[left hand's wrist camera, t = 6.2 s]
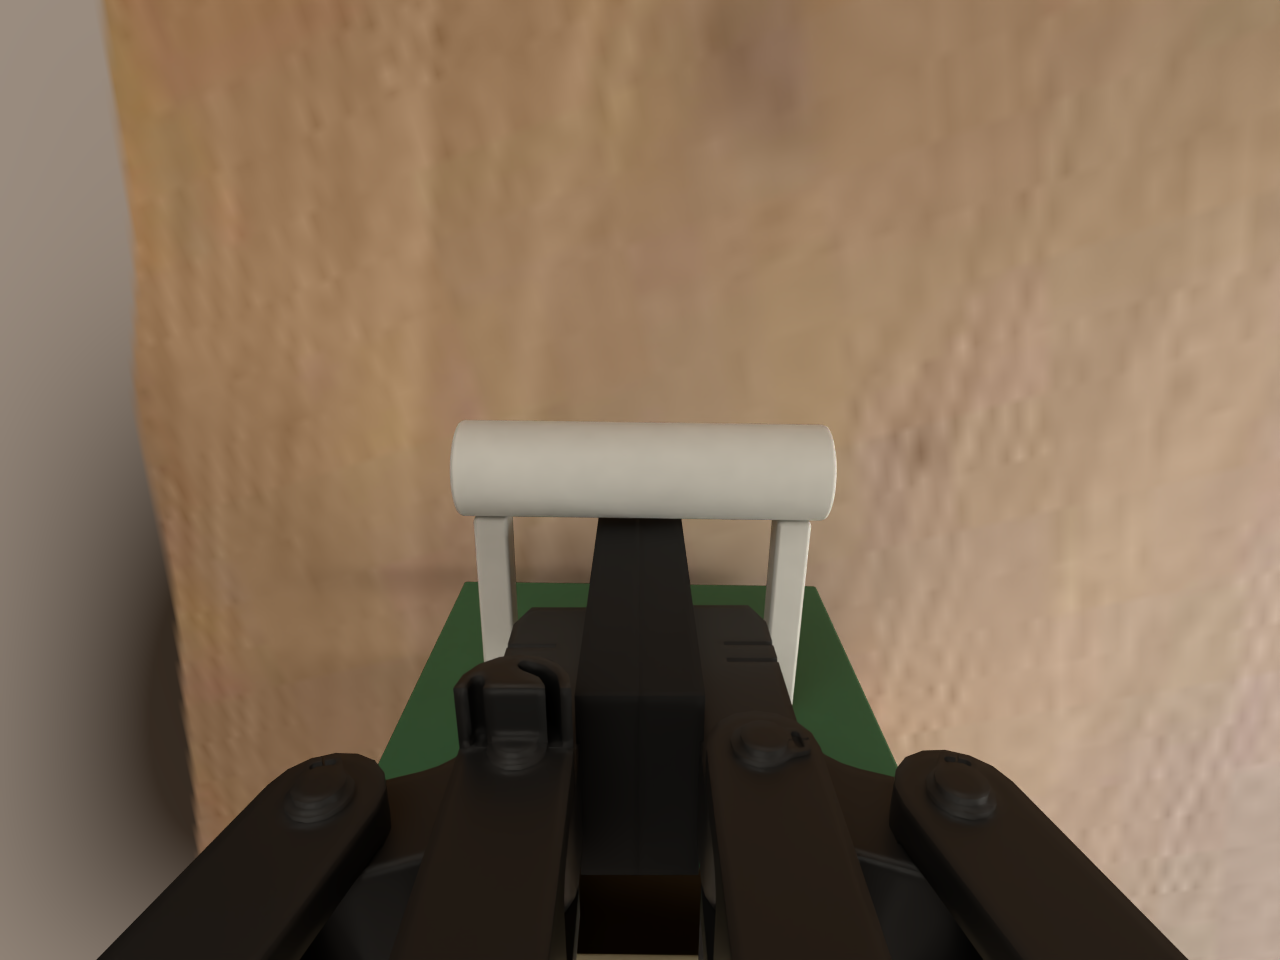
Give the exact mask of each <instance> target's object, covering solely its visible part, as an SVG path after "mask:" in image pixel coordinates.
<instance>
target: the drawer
mask: <svg viewBox="0 0 1280 960" xmlns="http://www.w3.org/2000/svg"><path fill="white" fill-rule="evenodd" d="M836 474H837V465H836V452H835V445H834V441H833V437H832V434H831V432H830V430H829V428H828V427H827V426H825V425H815V424H740V423H665V422H590V421H515V420H463V421H461V422H460V423H459V424H458V425H457V428H456V430H455V433H454V437H453V441H452V447H451V456H450V483H451V491H452V497H453V501H454V505H455V507H456V510H457V511H458V513H459V514H461V515H463V516H476V517H475V519H474V533H475V547H476V560H477V574H478V582H465V583H464V585H463V588H462V590H461V592H460V594H459V596H458V598H457V600H456V602H455V604H454V606H453V609H452V611H451V613H450V615H449V617H448V619H447V621H446V623H445V625H444V627H443V629H442V632H441V634H440V636H439V638H438V640H437V642H436V644H435V646H434V648H433V650H432V653H431V655H430V657H429V659H428V661H427V663H426V665H425V667H424V669H423V671H422V673H421V676H420V678H419V680H418V682H417V684H416V686H415V688H414V690H413V692H412V694H411V696H410V699H409V701H408V703H407V705H406V707H405V709H404V711H403V713H402V715H401V717H400V720H399V722H398V724H397V726H396V728H395V730H394V732H393V734H392V736H391V738H390V740H389V743H388V745H387V747H386V749H385V751H384V753H383V755H382V757H381V759H380V761H379V763H378V765H379V766H380V768H381V769H382V770H383V771H384V773H385V779H386V780H387V779H391V778H396V777H400V776H404V775H408V774H412V773H417V772H421V771H424V770H427V769H430V768H433V767H436V766H439V765H441V764H443V763H445V762H447V761H449V760H451V759H453V758H455V757H456V756H457V754H458V751H459V740H458V730H457V721H456V711H455V702H454V692H453V688H454V686H455V685H456V683H457V682H458V681H459V679H460V678H461V676H462V675H463V674H465V673H466V672H468V671H469V670H471V669H472V668H474V667H475V666H477V665H478V664H480V663H483V662H486V661H489V660H492V659H495V658H498V657H503V656H504V654H505V651H506V648H508V641H509V638H510V635H511V631H512V628H513V625H514V623H516V622H517V621H518V620H519V619H520V618H521V617H522V616H523V615H524V614H525V613H526V612H527V611H528V610H529V609H530V608H531V607H587V600H588V593H589V585H590V583H518V582H516V572H515V553H514V534H513V516H518V517H593V518H669V519H745V520H772V526H771V538H770V550H769V562H768V574H767V586H747V585H690V587H691V594H692V602H693V605H749V606H750V607H751V608H752V609H753V610H754V611H755V612H756V613H757V614H758V615H759V616H760V617H762V618H763V619H764V620H765V621H766V623H767V626H768V629H769V633H770V636H771V639H772V645H774V649H775V652H776V655H777V662H779V665H780V668H781V671H782V674H783V678H784V681H785V684H786V687H787V690H788V694H789V697H790V700H791V703H792V707H793V710H794V713H795V716H796V719H797V722H798V723H799V724H801V725H802V726H803V727H805V728H806V729H807V730H809V731H810V732H811V733H812V734H813V736H814V737H815V739H816V741H817V742H818V744H819V745H820V747H821V750H822V753H824V754H825V755H827V756H829V757H831V758H833V759H835V760H837V761H839V762H841V763H843V764H846V765H850V766H853V767H856V768H859V769H863V770H867V771H872V772H876V773H880V774H884V775H888V776H893V777H895V771H896V768H897V767H898V766H897V764H896V762H895V760H894V758H893V755H892V753H891V751H890V749H889V747H888V744H887V742H886V740H885V738H884V736H883V734H882V731H881V729H880V727H879V725H878V723H877V720H876V718H875V716H874V714H873V712H872V709H871V707H870V705H869V703H868V701H867V699H866V696H865V694H864V692H863V690H862V688H861V685H860V683H859V681H858V679H857V677H856V675H855V672H854V670H853V668H852V666H851V664H850V661H849V659H848V657H847V655H846V653H845V650H844V648H843V646H842V644H841V642H840V640H839V637H838V635H837V633H836V631H835V629H834V626H833V624H832V622H831V620H830V618H829V616H828V613H827V611H826V609H825V607H824V605H823V602H822V600H821V598H820V596H819V594H818V591H817V589H816V587H814V586H805V578H806V569H807V559H808V550H809V540H810V530H811V524H810V522H809V520H824V519H826V518H827V516H828V515H829V513H830V511H831V508H832V504H833V501H834V496H835V489H836ZM579 902H580V921H579V933H578V946H577V954H638V955H698V953H699V927H700V902H701V875H700V864H699V875H581V866H580V876H579Z"/></svg>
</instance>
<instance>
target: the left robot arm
mask: <svg viewBox="0 0 1280 960" xmlns="http://www.w3.org/2000/svg"><path fill="white" fill-rule="evenodd" d="M453 692H454V702H455V711H456V721H457V730H458V740H459V751H458V754H457V756H456V757H455V758H453V759H451V760H449V761H447V762H445V763H443V764H441V765H439V766H436V767H433V768H430V769H427V770H424V771H421V772H417V773H412V774H408V775H404V776H400V777H396V778H391V779H387V780H386V779H385V773H384V771H383V770H382V769H381V768H380V766H379V765H378V764H377V763H376V761H375V760H372V759H370V758H367V757H365V756H362V755H360V754H350V753H334V754H329V755H325V756H320V757H316V758H311V759H309V760H307V761H305V762H303V763H300V764H298V765H296V766H294V767H292V768H290V769H288V770H286V771H285V772H284V773H282V774H281V775H280V776H279V777H277V778H276V779H275V780H273V781H272V782H271V783H270V784H268V785H267V786H266V787H265V788H264V789H263V790H262V791H261V792H260V793H259V794H258V795H257V796H256V797H255V798H254V800H253V801H252V802H251V803H250V804H249V805H248V806H247V807H246V808H245V809H244V810H243V811H242V812H241V813H240V814H239V815H238V816H237V817H236V818H235V819H234V820H233V821H232V822H231V823H230V824H229V825H228V826H227V827H226V828H225V829H224V830H223V831H222V832H221V833H220V834H219V835H218V836H217V837H216V838H215V839H214V840H213V841H212V842H211V843H210V844H209V845H208V846H207V847H206V848H205V850H204V851H203V852H202V853H201V854H200V855H199V856H198V857H197V858H196V859H195V860H194V861H193V862H192V863H191V864H190V865H189V866H188V867H187V868H186V869H185V870H184V871H183V872H182V873H181V874H180V875H179V876H178V877H177V878H176V879H175V880H174V881H173V882H172V883H171V884H170V885H169V886H168V887H167V888H166V889H165V890H164V891H163V892H162V893H161V894H160V896H158V898H157V899H156V900H155V901H154V902H153V903H152V904H151V905H150V906H149V907H148V908H147V909H146V910H145V911H144V912H143V913H142V914H141V915H140V916H139V917H138V918H137V919H136V920H135V921H134V922H133V923H132V924H131V925H130V926H129V927H128V928H127V929H126V930H125V931H124V932H123V933H122V934H121V935H120V936H119V937H118V938H117V939H116V940H115V941H114V942H113V943H112V944H111V945H110V947H108V949H107V950H106V951H105V952H104V953H103V954H102V955H101V956H100V957H99V958H98V959H97V960H576V958H577V946H578V933H579V921H580V902H579V876H580V866H581V875H699V864H700V875H701V902H700V927H699V953H698V960H1188V959H1187V958H1186V957H1185V956H1184V955H1183V954H1182V953H1181V952H1180V951H1179V950H1178V949H1177V948H1176V947H1175V946H1174V945H1173V944H1172V943H1171V942H1170V941H1169V940H1168V939H1167V938H1166V937H1165V936H1164V935H1163V934H1162V933H1161V931H1160V930H1159V929H1158V928H1157V927H1156V926H1155V925H1154V924H1153V923H1152V922H1151V921H1150V920H1149V919H1148V918H1147V917H1146V916H1145V915H1144V914H1143V913H1142V912H1141V911H1140V910H1139V909H1138V908H1137V907H1136V906H1135V905H1134V904H1133V903H1132V902H1131V901H1130V900H1129V899H1128V898H1127V897H1126V896H1125V895H1124V894H1123V893H1122V892H1121V891H1120V890H1119V889H1118V888H1117V887H1116V886H1115V885H1114V884H1113V883H1112V882H1111V881H1110V880H1109V879H1108V878H1107V877H1106V876H1105V875H1104V874H1103V873H1102V872H1101V871H1100V870H1099V869H1098V868H1097V867H1096V866H1095V865H1094V864H1093V863H1092V862H1091V861H1090V860H1089V859H1088V858H1087V856H1086V855H1085V854H1084V853H1083V852H1082V851H1081V850H1080V849H1079V848H1078V847H1077V846H1076V845H1075V844H1074V843H1073V842H1072V841H1071V840H1070V839H1069V838H1068V837H1067V836H1066V835H1065V834H1064V833H1063V832H1062V831H1061V830H1060V829H1059V828H1058V827H1057V826H1056V825H1055V824H1054V823H1053V822H1052V821H1051V820H1050V819H1049V818H1048V817H1047V816H1046V815H1045V814H1044V813H1043V812H1042V811H1041V810H1040V809H1039V808H1038V807H1037V806H1036V805H1035V804H1034V803H1033V802H1032V801H1031V800H1030V799H1029V798H1028V797H1027V796H1026V795H1025V794H1024V793H1023V792H1022V791H1021V790H1020V789H1019V788H1018V787H1017V786H1016V785H1015V784H1014V783H1013V782H1012V781H1011V780H1010V779H1009V778H1007V777H1006V776H1005V775H1003V774H1002V773H1001V772H1000V771H998V770H997V769H996V768H994V767H993V766H991V765H989V764H987V763H985V762H982V761H980V760H978V759H976V758H974V757H972V756H969V755H965V754H961V753H956V752H952V751H947V750H927V751H920V752H918V753H915V754H913V755H910V756H908V757H905V759H904V760H903V761H902V762H901V764H900V765H899V766H898V767H897V768H896V771H895V777H893V776H888V775H884V774H880V773H876V772H872V771H867V770H863V769H859V768H856V767H853V766H850V765H846V764H843V763H841V762H839V761H837V760H835V759H833V758H831V757H829V756H827V755H825V754H824V753H822V750H821V747H820V745H819V744H818V742H817V741H816V739H815V737H814V736H813V734H812V733H811V732H810V731H809V730H807V729H806V728H805V727H803V726H802V725H801V724H799V723H798V722H797V719H796V716H795V713H794V710H793V707H792V703H791V700H790V697H789V694H788V690H787V687H786V684H785V681H784V678H783V674H782V671H781V668H780V665H779V662H777V655H776V652H775V649H774V645H772V639H771V636H770V633H769V629H768V626H767V623H766V621H765V620H764V619H763V618H762V617H760V616H759V615H758V614H757V613H756V612H755V611H754V610H753V609H752V608H751V607H750V606H749V605H693V602H692V594H691V587H690V580H689V572H688V565H687V558H686V550H685V543H684V536H683V528H682V521H681V519H669V518H599V519H598V527H597V534H596V541H595V549H594V556H593V563H592V571H591V578H590V585H589V593H588V600H587V607H531V608H530V609H529V610H528V611H527V612H526V613H525V614H524V615H523V616H522V617H521V618H520V619H519V620H518V621H517V622H516V623H514V625H513V628H512V631H511V635H510V638H509V641H508V648H506V651H505V654H504V656H503V657H498V658H495V659H492V660H489V661H486V662H483V663H480V664H478V665H477V666H475V667H474V668H472V669H471V670H469V671H468V672H466V673H465V674H463V675H462V676H461V678H460V679H459V681H458V682H457V683H456V685H455V686H454V688H453Z"/></svg>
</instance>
